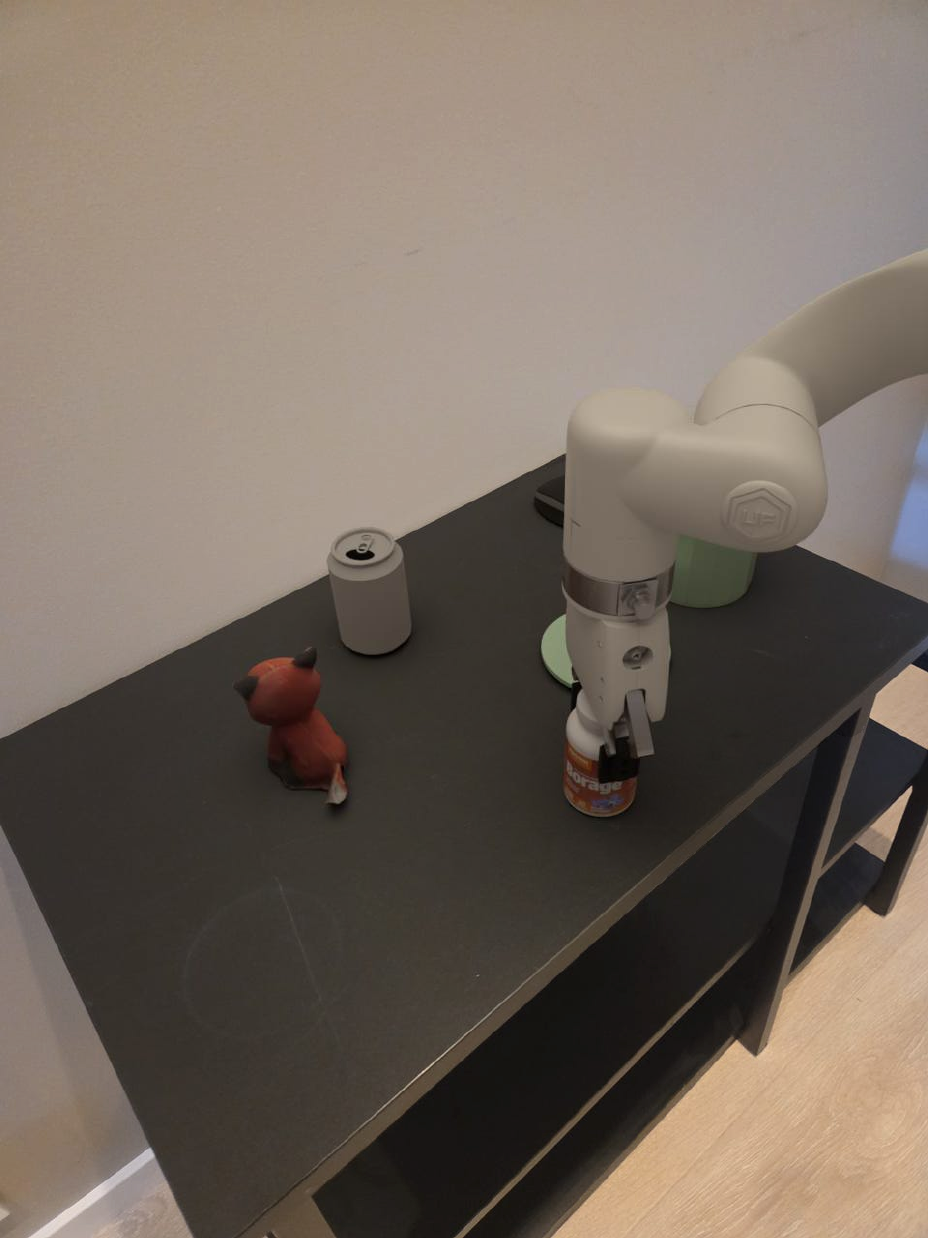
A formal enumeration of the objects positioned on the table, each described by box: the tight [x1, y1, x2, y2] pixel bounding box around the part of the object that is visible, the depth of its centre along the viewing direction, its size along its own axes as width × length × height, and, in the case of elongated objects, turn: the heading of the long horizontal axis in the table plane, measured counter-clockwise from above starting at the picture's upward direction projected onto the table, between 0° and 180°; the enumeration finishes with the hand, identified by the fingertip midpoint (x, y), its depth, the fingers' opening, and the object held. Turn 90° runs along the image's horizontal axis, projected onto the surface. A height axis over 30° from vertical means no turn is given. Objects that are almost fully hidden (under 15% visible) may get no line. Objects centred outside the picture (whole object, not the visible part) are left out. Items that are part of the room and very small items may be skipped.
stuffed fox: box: [231, 645, 349, 805], centre depth 74 cm, size 8×11×12 cm
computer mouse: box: [533, 474, 565, 528], centre depth 105 cm, size 7×12×4 cm, turn 41°
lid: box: [540, 613, 672, 689], centre depth 86 cm, size 13×13×6 cm
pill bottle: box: [562, 688, 639, 818], centre depth 71 cm, size 6×6×11 cm
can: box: [326, 526, 412, 656], centre depth 87 cm, size 8×8×12 cm
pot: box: [668, 534, 759, 609], centre depth 93 cm, size 12×12×12 cm
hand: (603, 744), depth 71 cm, fingers closed on pill bottle, 6 cm apart
